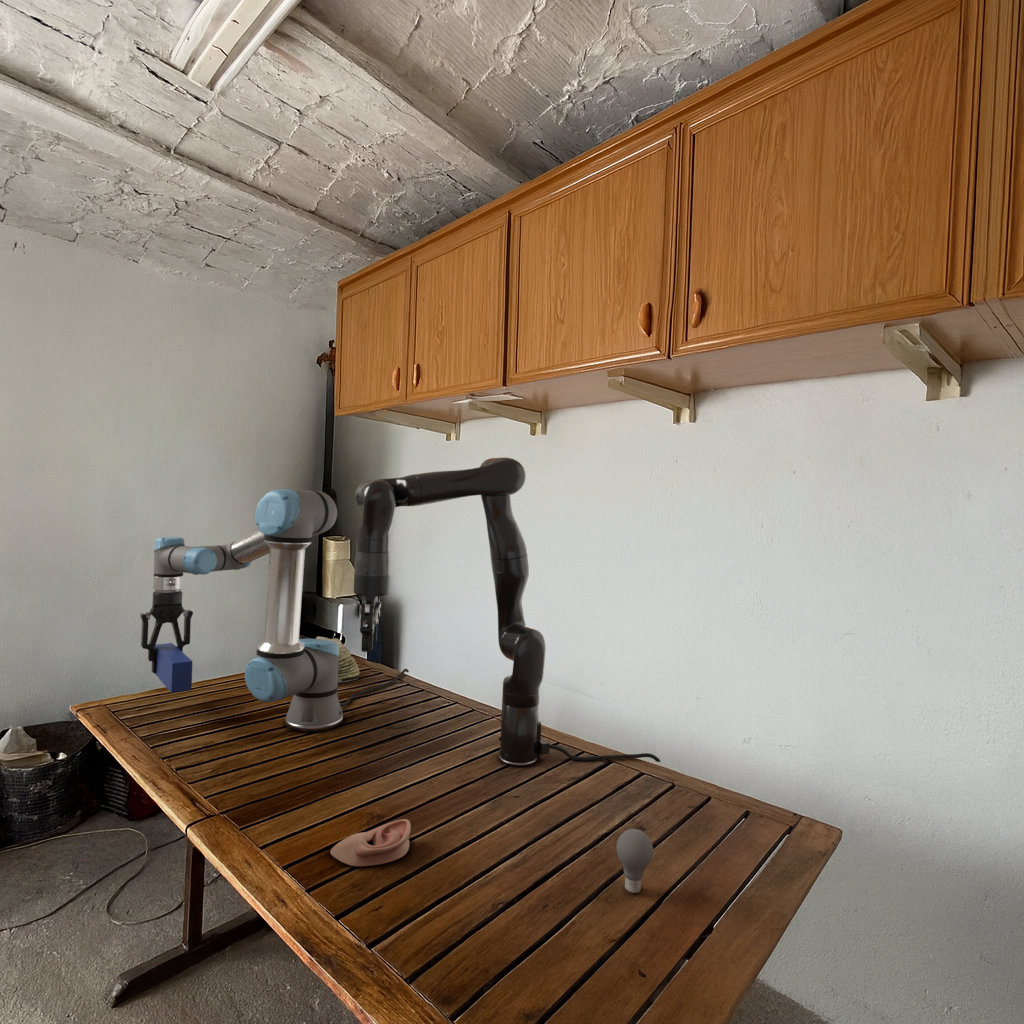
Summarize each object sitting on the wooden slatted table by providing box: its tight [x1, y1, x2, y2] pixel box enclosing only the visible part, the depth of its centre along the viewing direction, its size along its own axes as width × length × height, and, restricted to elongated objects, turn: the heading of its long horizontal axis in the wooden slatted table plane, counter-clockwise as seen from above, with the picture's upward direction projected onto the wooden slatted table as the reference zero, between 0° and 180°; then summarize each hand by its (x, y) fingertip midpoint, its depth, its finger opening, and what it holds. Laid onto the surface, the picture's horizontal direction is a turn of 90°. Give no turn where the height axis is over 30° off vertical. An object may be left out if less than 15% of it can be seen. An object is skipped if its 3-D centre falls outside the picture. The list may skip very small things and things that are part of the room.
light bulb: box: [615, 828, 654, 894], centre depth 106 cm, size 6×6×10 cm
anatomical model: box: [329, 818, 412, 867], centre depth 114 cm, size 13×4×12 cm
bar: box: [154, 642, 193, 694], centre depth 177 cm, size 24×5×8 cm, turn 40°
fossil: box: [315, 636, 361, 683], centre depth 216 cm, size 9×18×15 cm, turn 132°
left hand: (164, 670), depth 183 cm, fingers closed on bar, 5 cm apart
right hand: (369, 646), depth 137 cm, fingers open, 8 cm apart
